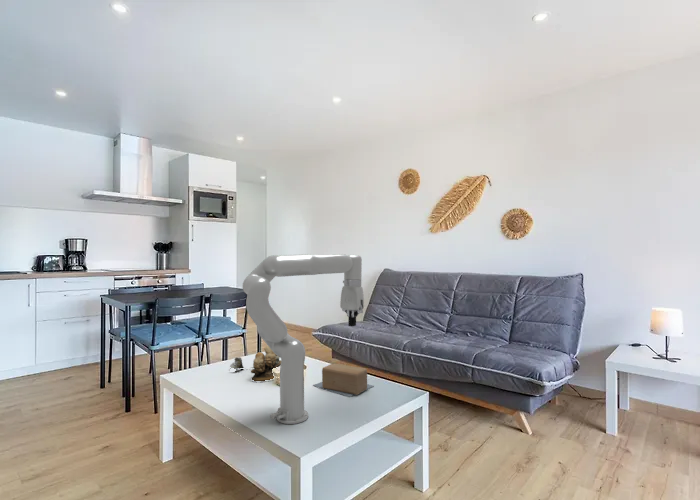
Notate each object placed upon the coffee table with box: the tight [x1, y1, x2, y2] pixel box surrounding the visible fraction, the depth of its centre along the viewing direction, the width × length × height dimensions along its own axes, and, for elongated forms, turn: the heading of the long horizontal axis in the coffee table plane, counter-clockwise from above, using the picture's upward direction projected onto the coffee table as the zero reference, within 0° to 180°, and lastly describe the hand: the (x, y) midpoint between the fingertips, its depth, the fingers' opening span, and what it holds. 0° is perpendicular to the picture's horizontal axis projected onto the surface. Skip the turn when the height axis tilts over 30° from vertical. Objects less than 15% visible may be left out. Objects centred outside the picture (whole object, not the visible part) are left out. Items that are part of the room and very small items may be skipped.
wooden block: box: [321, 362, 368, 396], centre depth 190 cm, size 10×10×20 cm
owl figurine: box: [250, 345, 281, 381], centre depth 209 cm, size 18×12×17 cm, turn 136°
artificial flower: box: [229, 357, 254, 370], centre depth 222 cm, size 9×22×10 cm, turn 87°
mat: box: [312, 381, 375, 398], centre depth 194 cm, size 18×24×1 cm
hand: (352, 325), depth 172 cm, fingers closed
